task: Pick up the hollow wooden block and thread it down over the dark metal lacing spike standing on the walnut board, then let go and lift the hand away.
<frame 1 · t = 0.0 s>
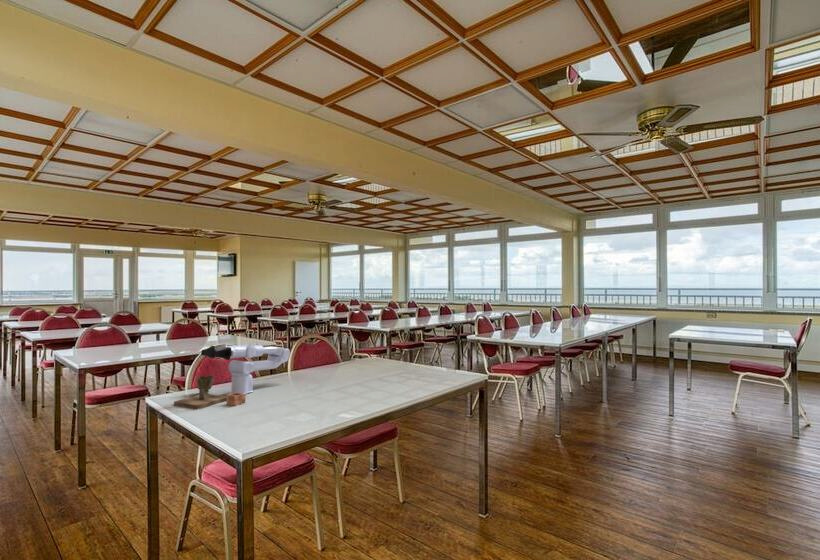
hand: (208, 353, 188), 22 cm above the table, tool horizontal, fingers open, 7 cm apart
hollow wooden block: (235, 403, 187), on the table
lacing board: (201, 402, 187), on the table
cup: (204, 393, 203), on the table
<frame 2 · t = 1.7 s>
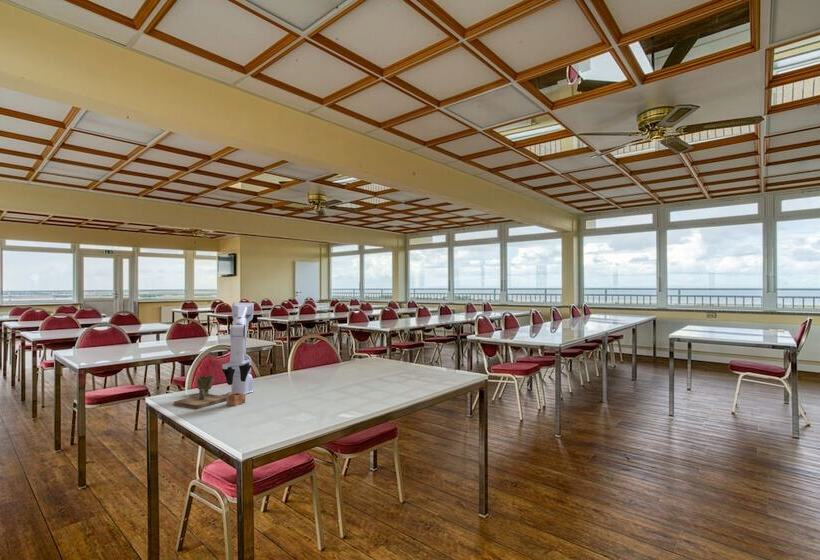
hand: (236, 382, 187), 9 cm above the table, tool pointing down, fingers open, 7 cm apart
nothing on the table moved.
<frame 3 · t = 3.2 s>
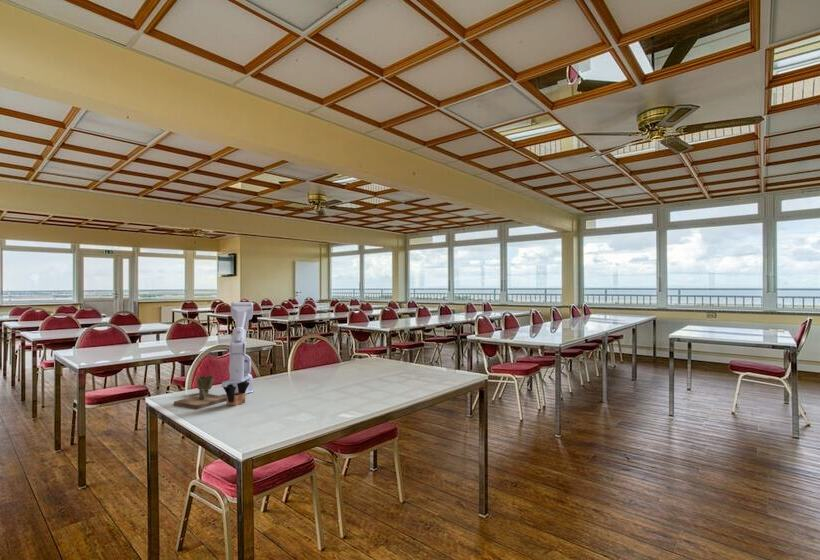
hand: (236, 400, 187), 1 cm above the table, tool pointing down, fingers closed on hollow wooden block, 5 cm apart
hollow wooden block: (235, 403, 187), on the table, touching gripper
everything else where it was.
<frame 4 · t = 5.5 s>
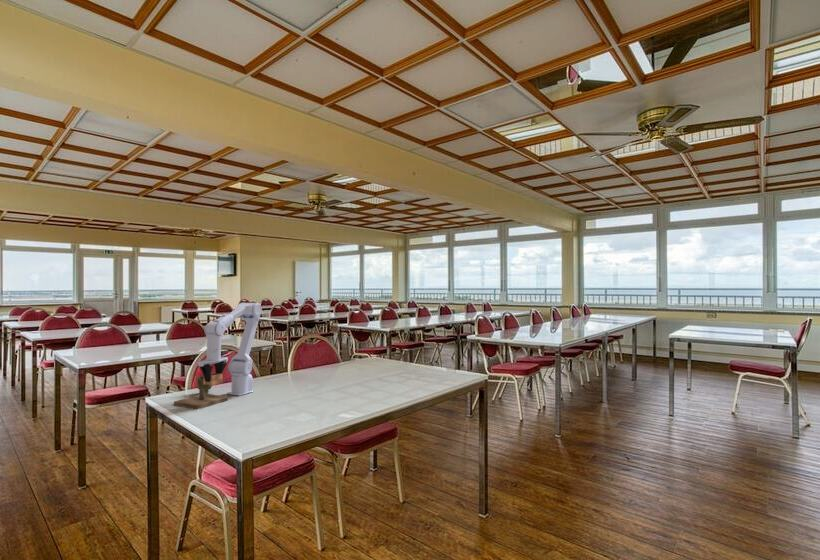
hand: (212, 380, 187), 10 cm above the table, tool pointing down, fingers closed on hollow wooden block, 5 cm apart
hollow wooden block: (212, 383, 187), point 9 cm above the table, touching gripper
everything else where it was.
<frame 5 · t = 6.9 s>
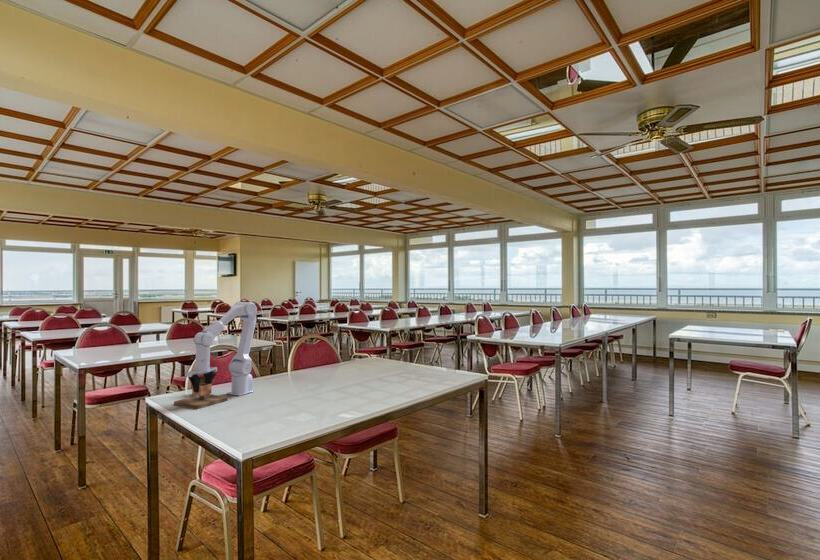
hand: (201, 390, 187), 5 cm above the table, tool pointing down, fingers closed on hollow wooden block, 5 cm apart
hollow wooden block: (201, 393, 187), point 4 cm above the table, touching gripper
everything else where it was.
when the fingers open (5 cm above the table, at t = 8.0 s): hollow wooden block drops 2 cm, resting on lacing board.
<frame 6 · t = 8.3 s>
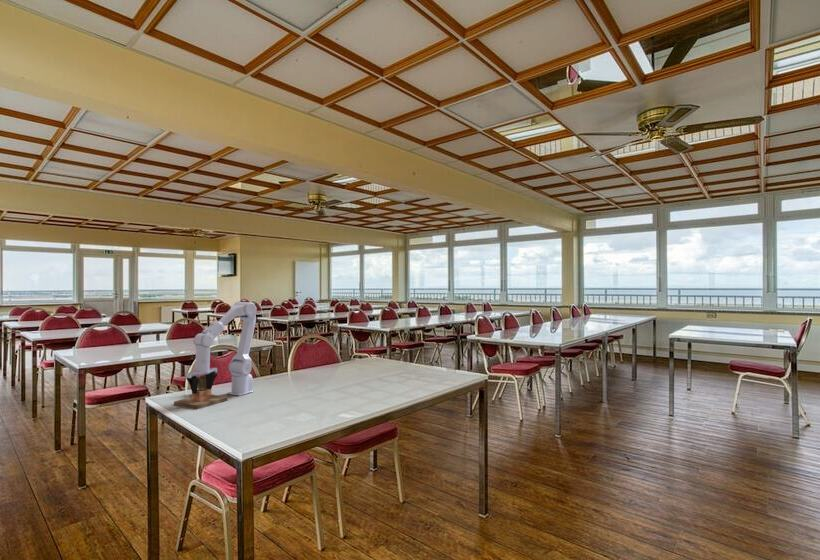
hand: (201, 391, 187), 5 cm above the table, tool pointing down, fingers open, 7 cm apart
hollow wooden block: (201, 399, 187), point 1 cm above the table, touching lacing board
everything else where it was.
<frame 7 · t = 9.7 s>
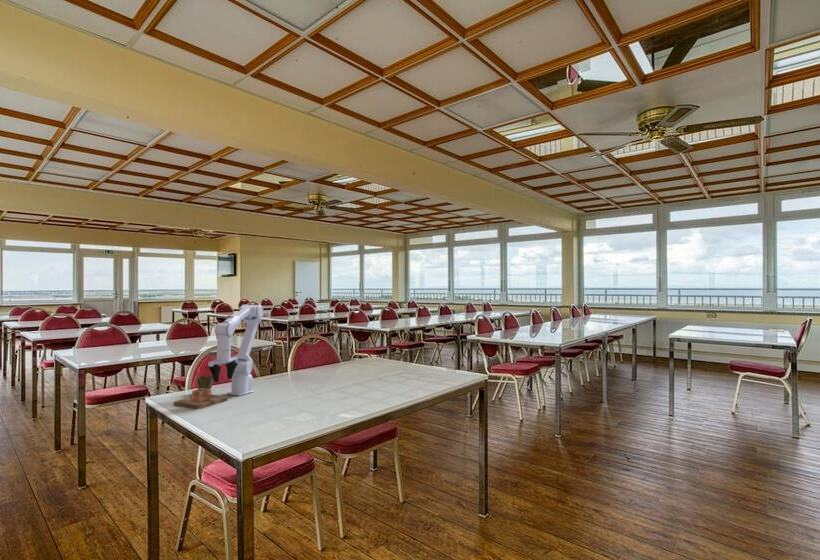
hand: (222, 380, 190), 9 cm above the table, tool pointing down, fingers open, 7 cm apart
nothing on the table moved.
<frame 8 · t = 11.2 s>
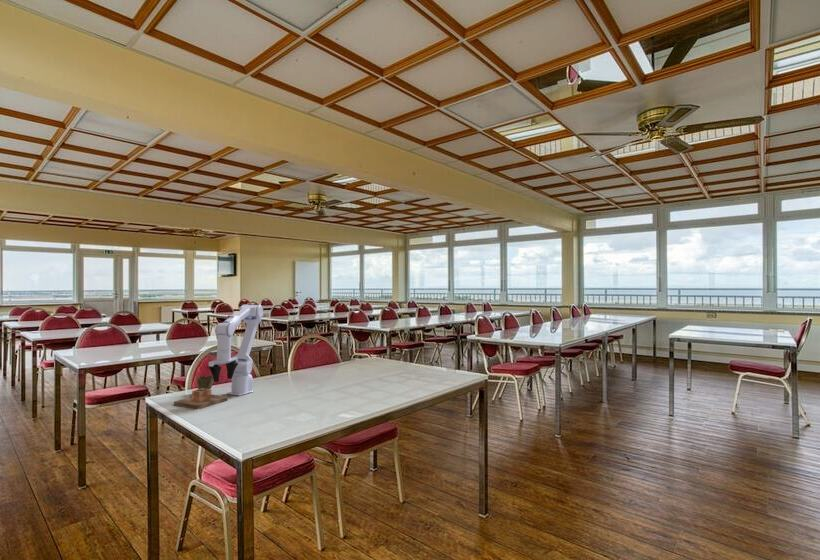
hand: (223, 380, 190), 9 cm above the table, tool pointing down, fingers open, 7 cm apart
nothing on the table moved.
at the end: hollow wooden block 0.1 cm off-centre on the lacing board, point 1.5 cm above the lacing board's base; hollow wooden block tilted 0°; the gripper is holding nothing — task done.
